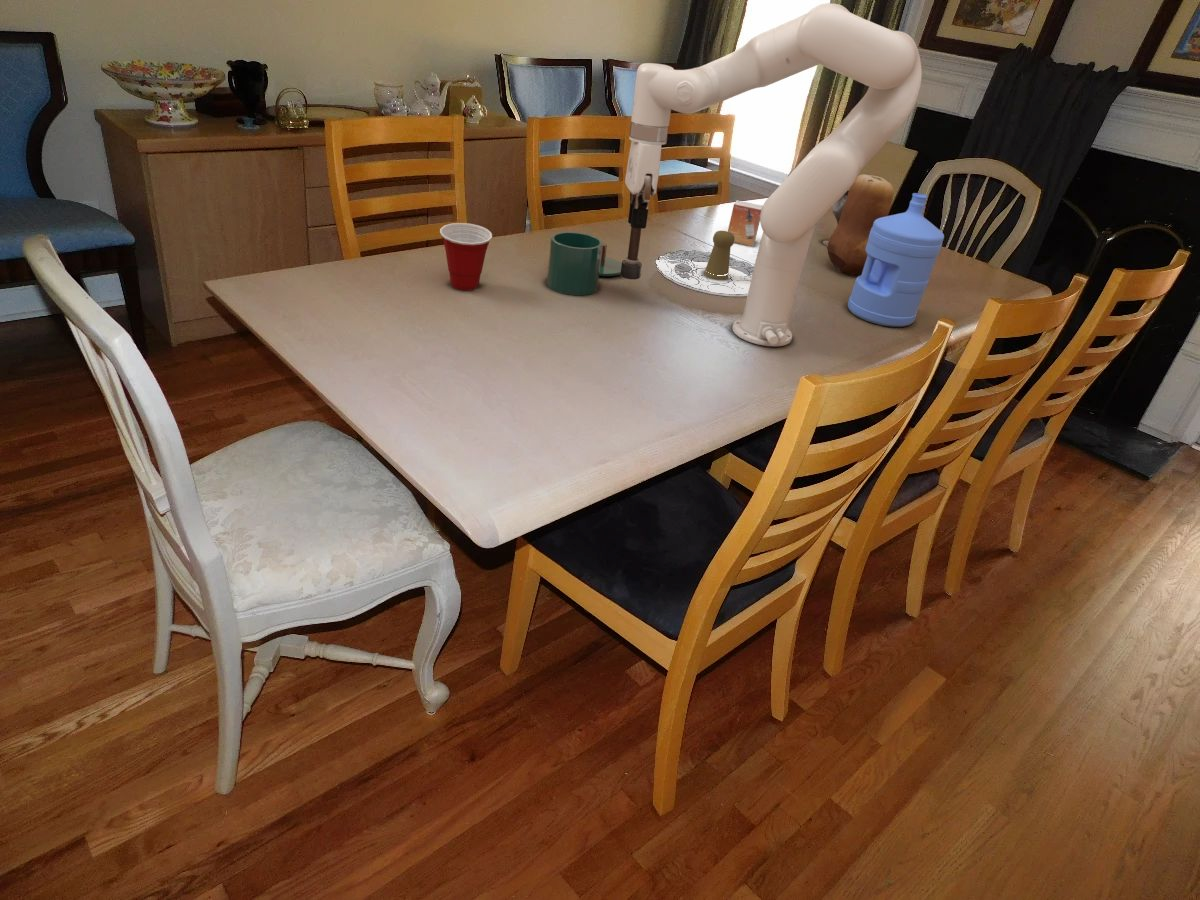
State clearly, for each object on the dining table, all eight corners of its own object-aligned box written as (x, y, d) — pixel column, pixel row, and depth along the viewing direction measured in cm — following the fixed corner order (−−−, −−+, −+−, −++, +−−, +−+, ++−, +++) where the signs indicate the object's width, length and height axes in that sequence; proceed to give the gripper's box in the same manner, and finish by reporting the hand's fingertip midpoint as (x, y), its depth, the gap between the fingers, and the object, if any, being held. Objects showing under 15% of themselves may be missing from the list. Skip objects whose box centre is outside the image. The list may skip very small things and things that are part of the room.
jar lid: (628, 280, 181) (631, 254, 178) (576, 276, 179) (579, 250, 175) (619, 262, 191) (622, 237, 188) (570, 258, 189) (572, 234, 185)
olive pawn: (727, 273, 194) (736, 230, 188) (728, 281, 189) (738, 237, 183) (703, 269, 194) (712, 226, 188) (704, 277, 189) (713, 233, 183)
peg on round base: (641, 280, 166) (652, 205, 158) (622, 279, 165) (631, 204, 157) (638, 273, 170) (647, 199, 161) (618, 272, 169) (627, 198, 160)
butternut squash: (881, 276, 207) (913, 182, 194) (854, 283, 199) (885, 185, 186) (838, 260, 215) (866, 168, 202) (811, 266, 207) (837, 171, 194)
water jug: (899, 305, 189) (939, 190, 174) (923, 331, 176) (970, 209, 161) (838, 299, 187) (873, 182, 173) (858, 324, 174) (899, 200, 159)
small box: (725, 241, 218) (733, 203, 212) (728, 236, 222) (735, 199, 217) (752, 246, 216) (761, 209, 210) (755, 241, 221) (764, 205, 215)
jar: (600, 296, 170) (606, 250, 164) (549, 293, 168) (553, 246, 162) (593, 278, 179) (598, 233, 174) (544, 275, 177) (548, 230, 171)
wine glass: (815, 240, 230) (829, 189, 222) (836, 239, 233) (850, 189, 225) (832, 249, 224) (847, 197, 216) (853, 248, 227) (869, 197, 219)
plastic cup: (445, 296, 159) (445, 239, 153) (434, 277, 168) (434, 222, 161) (495, 294, 163) (498, 239, 157) (483, 276, 172) (485, 222, 165)
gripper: (623, 124, 158) (613, 214, 168) (637, 139, 145) (626, 236, 154) (658, 127, 159) (646, 216, 169) (676, 143, 146) (662, 238, 156)
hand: (636, 225), depth 162 cm, fingers closed on peg on round base, 2 cm apart
